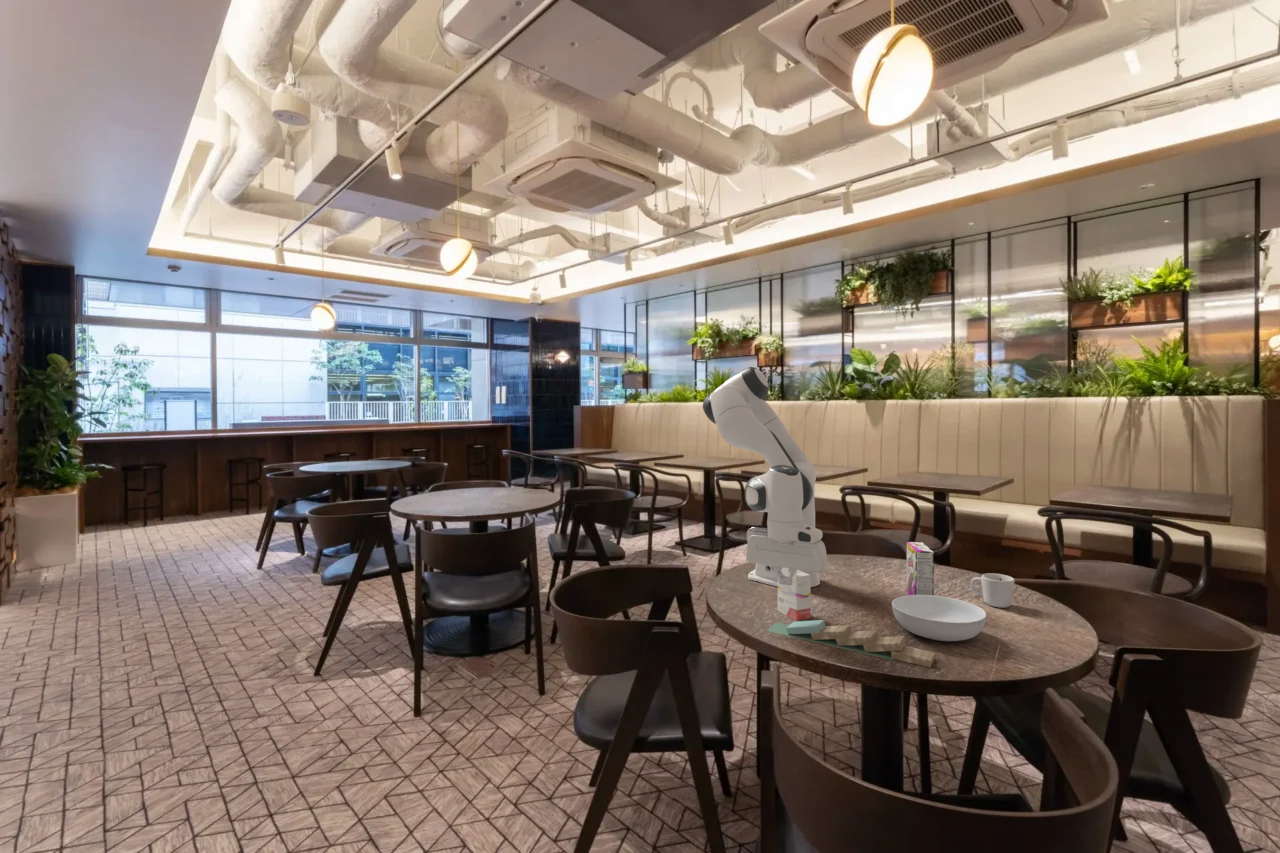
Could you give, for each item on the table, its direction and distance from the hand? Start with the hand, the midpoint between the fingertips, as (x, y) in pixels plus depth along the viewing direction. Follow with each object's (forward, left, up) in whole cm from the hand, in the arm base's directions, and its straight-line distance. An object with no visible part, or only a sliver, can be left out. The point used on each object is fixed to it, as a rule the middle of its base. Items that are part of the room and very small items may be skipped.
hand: (785, 584), depth 151 cm
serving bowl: (+32, +17, -12) cm, 38 cm away
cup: (+41, +50, -11) cm, 66 cm away
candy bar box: (+24, +39, -11) cm, 48 cm away
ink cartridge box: (-2, +10, -11) cm, 15 cm away
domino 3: (+14, -2, -10) cm, 18 cm away
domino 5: (+26, -2, -10) cm, 28 cm away
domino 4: (+20, -2, -10) cm, 23 cm away
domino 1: (+2, -2, -10) cm, 11 cm away
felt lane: (+12, -2, -11) cm, 16 cm away
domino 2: (+8, -2, -10) cm, 13 cm away
